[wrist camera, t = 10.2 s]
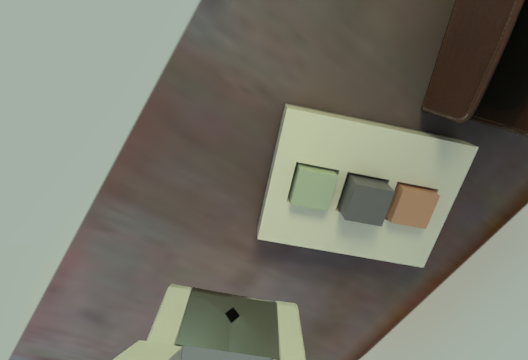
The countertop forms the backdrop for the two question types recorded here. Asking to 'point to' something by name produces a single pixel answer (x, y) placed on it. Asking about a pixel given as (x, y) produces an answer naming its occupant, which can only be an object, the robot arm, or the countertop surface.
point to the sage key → (312, 186)
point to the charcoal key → (365, 200)
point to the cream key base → (363, 164)
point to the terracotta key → (412, 205)
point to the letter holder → (483, 66)
